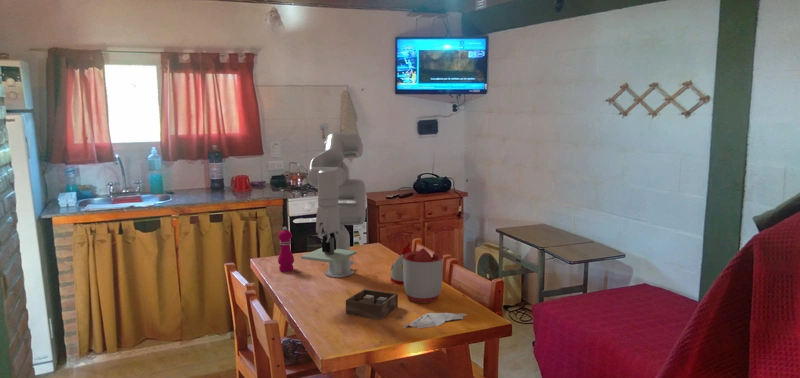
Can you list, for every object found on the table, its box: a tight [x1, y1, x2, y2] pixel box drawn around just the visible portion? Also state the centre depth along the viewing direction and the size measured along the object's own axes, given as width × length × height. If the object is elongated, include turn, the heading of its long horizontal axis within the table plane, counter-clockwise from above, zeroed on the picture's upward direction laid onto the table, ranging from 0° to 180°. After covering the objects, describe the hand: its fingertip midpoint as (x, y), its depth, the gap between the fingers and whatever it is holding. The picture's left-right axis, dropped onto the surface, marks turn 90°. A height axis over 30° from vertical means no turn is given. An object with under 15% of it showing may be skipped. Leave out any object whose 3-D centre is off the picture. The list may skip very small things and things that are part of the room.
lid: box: [300, 237, 357, 263], centre depth 210 cm, size 15×15×7 cm
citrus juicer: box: [403, 247, 444, 304], centre depth 215 cm, size 16×17×20 cm
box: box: [345, 288, 399, 321], centre depth 203 cm, size 14×14×5 cm
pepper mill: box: [277, 226, 295, 273], centre depth 252 cm, size 7×7×20 cm
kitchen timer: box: [390, 245, 412, 286], centre depth 238 cm, size 14×14×15 cm
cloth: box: [403, 312, 468, 330], centre depth 194 cm, size 26×14×2 cm, turn 106°
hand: (329, 250), depth 210 cm, fingers closed on lid, 3 cm apart
